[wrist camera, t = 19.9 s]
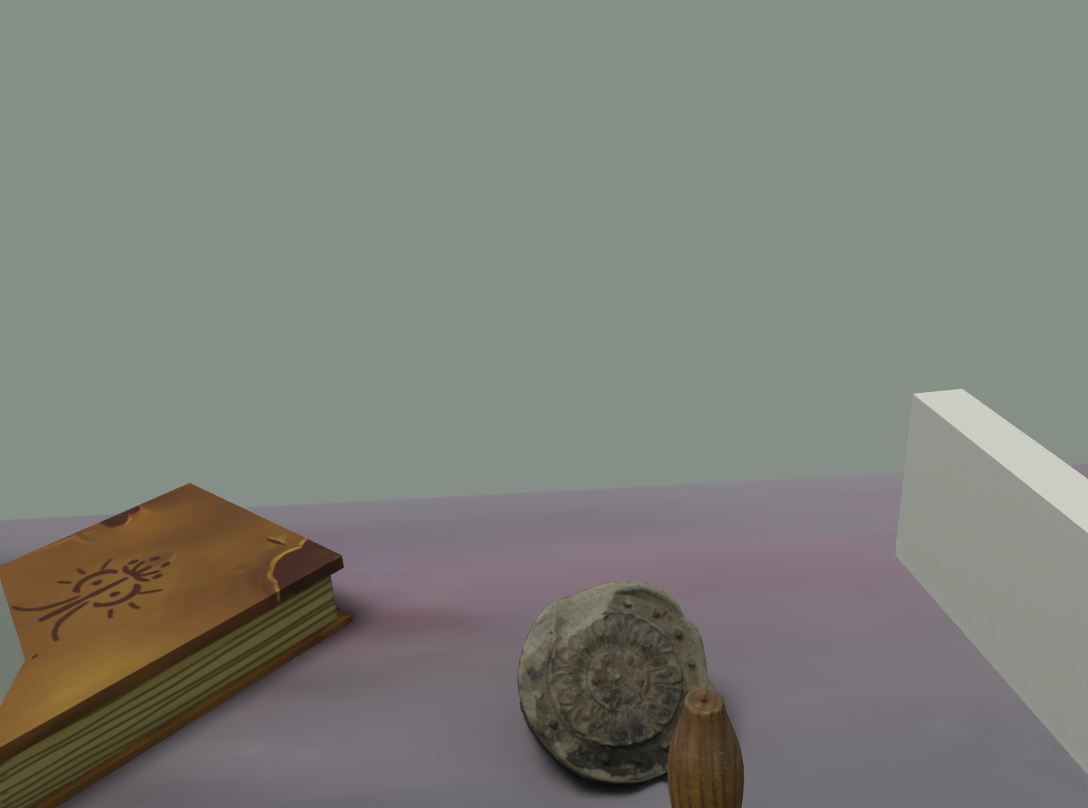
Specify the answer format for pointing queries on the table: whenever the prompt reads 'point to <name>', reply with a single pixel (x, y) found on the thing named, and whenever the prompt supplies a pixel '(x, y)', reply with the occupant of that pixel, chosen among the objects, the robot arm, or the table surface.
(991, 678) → the table surface
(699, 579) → the table surface
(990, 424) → the robot arm
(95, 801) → the table surface
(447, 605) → the table surface
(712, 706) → the hand bell
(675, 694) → the fossil
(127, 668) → the diary
